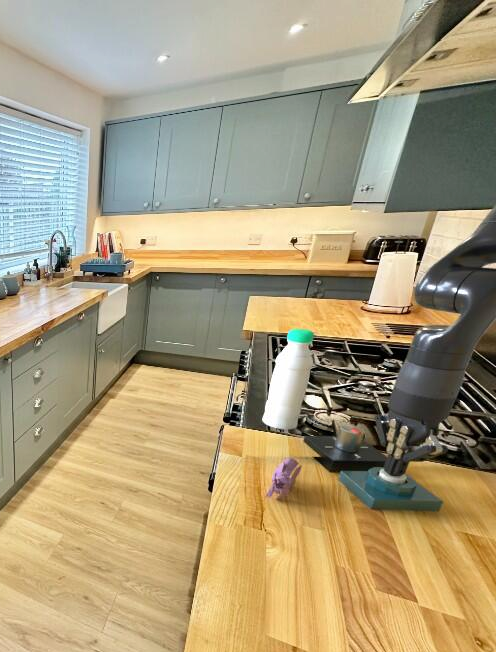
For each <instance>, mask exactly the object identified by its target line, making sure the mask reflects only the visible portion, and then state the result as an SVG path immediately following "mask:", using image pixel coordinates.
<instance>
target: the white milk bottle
mask: <svg viewBox="0 0 496 652" xmlns="http://www.w3.org/2000/svg"><path fill="white" fill-rule="evenodd" d="M314 338H315V333H314V332H313V331H311V330H309V329H303V328H293V329H290V330H289V331H288V332H287V335H286V340H287V341H286V342H287V345H286V346H285V347H283V350H282V351H281V352H280V353H278V355H277V356H276V358H275V366H274V368H273V372H272V377H271V380H270V384H269V388H268V389H269V390H268V399H267V401H266V402H265V407H264V413H263V416H262V422H263V423H264V424H265V425H267V426H269V427H271V428H275V429H277V430H294V429H296V428H298V423H299V422H298V421H299V417H300V415H301V411H302V404H303V402H304V398H305V395H306V393H307V389H308V384H309V380H310V375H311V369H313V366H314V359H313V355H312V353H311V350H310V347H309V346H310V345H311V344H312V342H313V341H314Z"/></svg>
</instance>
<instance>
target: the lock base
mask: <svg viewBox="0 0 496 652" xmlns="http://www.w3.org/2000/svg"><path fill="white" fill-rule="evenodd" d="M336 438H337V435H335V436H334V435H304V437H303V440H302V442H303V443H304V444H306V446H308V447H309V448H310V449H311V450H312V451H313V452H315V453H316V454H317V456H312V458H313V459H314V460H315V461H316V462H317V463H319V464H320V465H321V467H323V468H324V469H325V470H326V471H327V472H329V473H333V474H335V473H336V474H338V473H339V474H340V472H341V471H368V470H369V469H371V468H374V467H384V464H385V461H386V459H387V456H388V455H385V454H384V453H383V452H381V451H380V450H378V449H376V448H375V447H374V446H372V445H371V444H370V443H368V442H367V441H365V440H364V439H363V440H362V443H361V446H360V449H359V451H358V452H354V453H352V452H346V451H342V450H340V449H338V448H336V447H335V442H336ZM384 468H385V467H384Z"/></svg>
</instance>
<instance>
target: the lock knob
mask: <svg viewBox="0 0 496 652" xmlns="http://www.w3.org/2000/svg"><path fill="white" fill-rule="evenodd" d="M365 434H366V431H365V429H363V428H362V427H359V426H357V425H352V424H341V425H340V426H339V429H338V432H337V435H336V436H337V438H336V442H335V447H336V448H338V449H340V450H342V451H346V452H352V453H354V452H358V451H359V449H360V446H361V443H362V440H364V437H365Z"/></svg>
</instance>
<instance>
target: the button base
mask: <svg viewBox="0 0 496 652" xmlns="http://www.w3.org/2000/svg"><path fill="white" fill-rule="evenodd" d="M381 469H384V467H374V468H371V469H369V470H368V471H341V472H340V473H339V476H338V478H337V481H339V482H340V483H341V484H342V485H343V486H344V487H345V488H347V490H349V492H351V493H352V494H353V495H354V496H355V497H356V498H358V499H359V501H361V502H362V503H363V504H364V505H365V506H367V508H369V510H381V511H382V510H384V511H418V512H440V510H441V508H442V506H443V504H444V500H442V499H441V498H439V497H438V496H437V495H435V494H434V493H433V492H431V491H430V490H428V489H427V488H426V487H424V486H423V485H421V484H420V483H419V482H417V480H416V479H414V478H413V477H412V476H411V475H409V474H408V473H405V474H404V475H406V477H407V479H406V481H405V484H396V483H392V482H388V481H386V480H384V479H382V478H380V477H379V476H378V475H379V473H380V470H381Z"/></svg>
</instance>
